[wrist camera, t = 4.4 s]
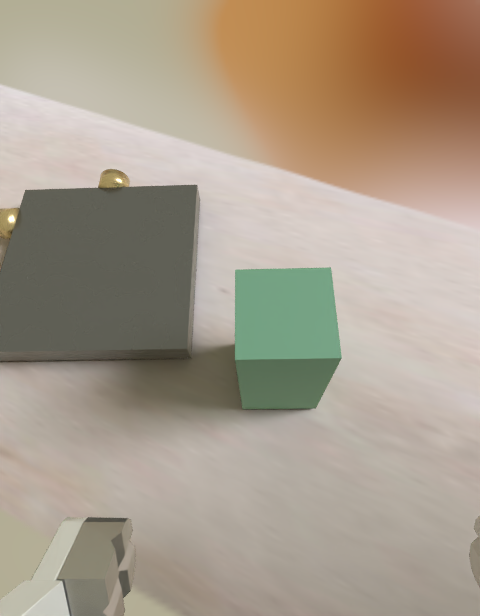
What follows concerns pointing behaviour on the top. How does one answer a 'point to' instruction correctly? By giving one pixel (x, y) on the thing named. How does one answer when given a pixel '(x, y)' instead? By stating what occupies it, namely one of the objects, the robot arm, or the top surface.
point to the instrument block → (285, 336)
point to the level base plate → (99, 272)
